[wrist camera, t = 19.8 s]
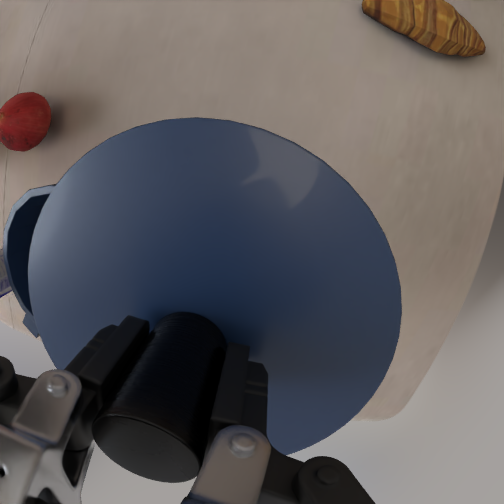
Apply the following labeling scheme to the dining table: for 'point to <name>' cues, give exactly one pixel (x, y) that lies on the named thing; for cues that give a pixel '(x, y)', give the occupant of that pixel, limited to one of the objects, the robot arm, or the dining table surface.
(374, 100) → the dining table surface
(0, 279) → the beverage can
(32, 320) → the pot
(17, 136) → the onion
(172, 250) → the pot lid
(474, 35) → the croissant
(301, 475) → the robot arm
